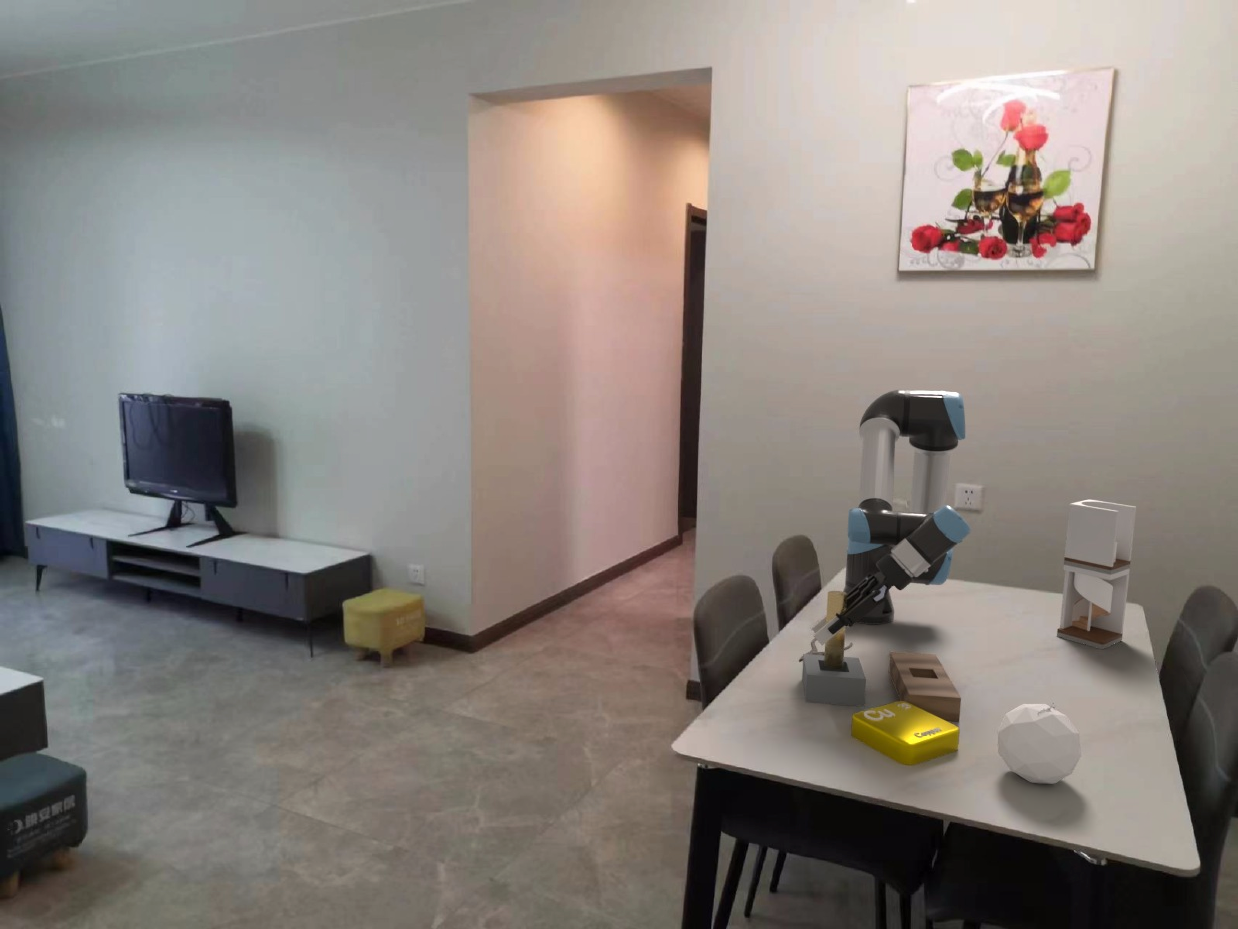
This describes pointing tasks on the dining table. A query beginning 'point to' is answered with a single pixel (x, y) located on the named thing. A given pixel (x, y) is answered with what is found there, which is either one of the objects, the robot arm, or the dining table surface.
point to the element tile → (905, 732)
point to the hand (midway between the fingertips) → (816, 636)
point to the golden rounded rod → (836, 643)
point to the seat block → (833, 681)
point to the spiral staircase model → (1096, 572)
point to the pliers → (814, 652)
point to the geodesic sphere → (1039, 743)
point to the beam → (924, 684)
